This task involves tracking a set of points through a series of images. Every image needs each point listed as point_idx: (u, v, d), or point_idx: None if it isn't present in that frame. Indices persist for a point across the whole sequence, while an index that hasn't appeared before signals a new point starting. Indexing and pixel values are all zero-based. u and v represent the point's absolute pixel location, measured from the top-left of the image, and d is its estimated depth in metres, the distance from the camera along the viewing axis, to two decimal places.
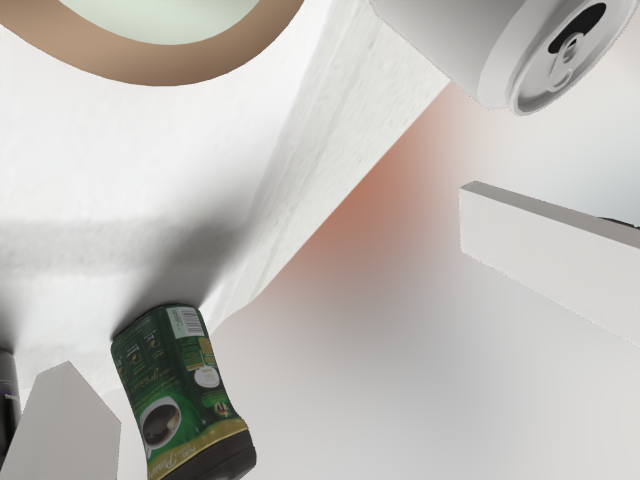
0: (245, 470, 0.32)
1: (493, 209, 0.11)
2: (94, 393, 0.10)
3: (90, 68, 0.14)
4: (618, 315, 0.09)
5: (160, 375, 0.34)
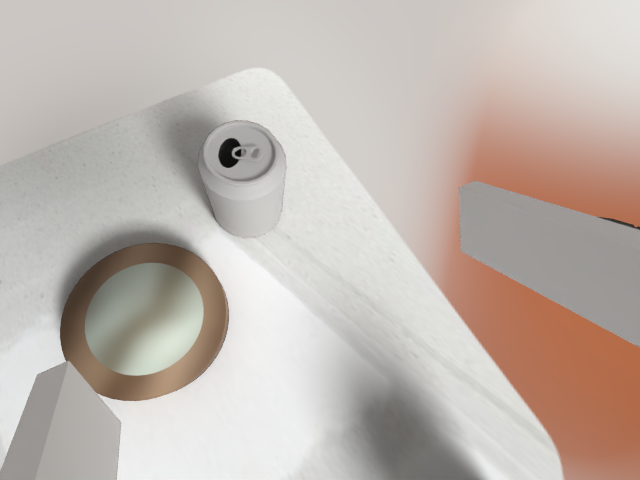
0: None
1: (492, 209, 0.11)
2: (94, 393, 0.10)
3: (181, 383, 0.31)
4: (618, 315, 0.09)
5: None
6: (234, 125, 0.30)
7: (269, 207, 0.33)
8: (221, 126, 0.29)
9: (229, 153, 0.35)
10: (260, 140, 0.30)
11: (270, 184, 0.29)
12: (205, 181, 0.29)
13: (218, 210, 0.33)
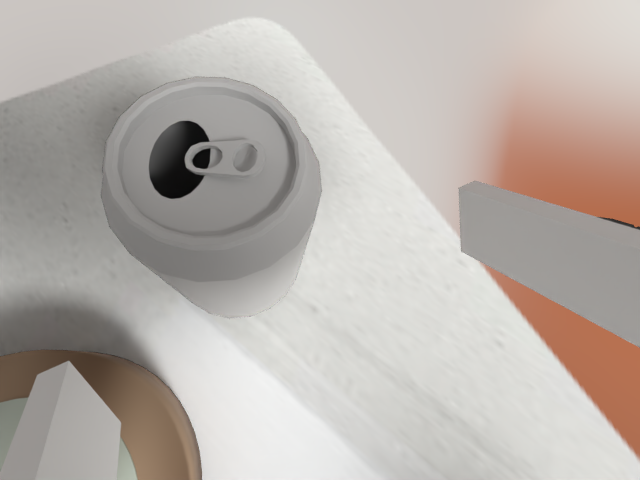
0: None
1: (492, 209, 0.11)
2: (94, 394, 0.10)
3: None
4: (618, 315, 0.09)
5: None
6: (192, 89, 0.12)
7: (281, 277, 0.15)
8: (158, 91, 0.11)
9: (195, 158, 0.17)
10: (258, 126, 0.12)
11: (285, 237, 0.12)
12: (117, 233, 0.11)
13: (169, 284, 0.15)
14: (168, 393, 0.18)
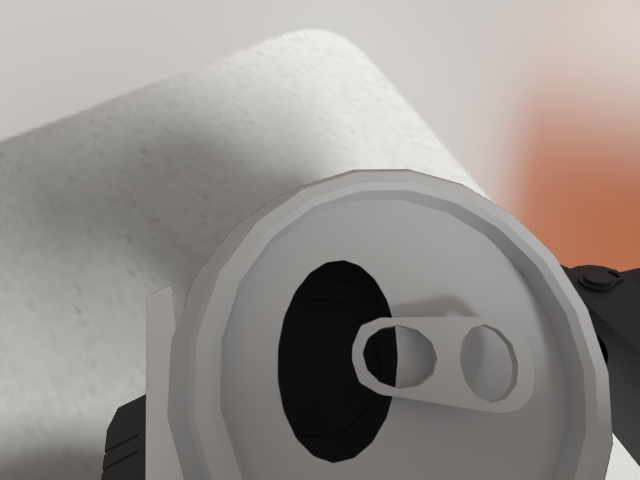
0: None
1: None
2: None
3: None
4: None
5: None
6: (349, 195, 0.06)
7: None
8: (289, 207, 0.06)
9: None
10: (473, 265, 0.06)
11: None
12: None
13: None
14: None
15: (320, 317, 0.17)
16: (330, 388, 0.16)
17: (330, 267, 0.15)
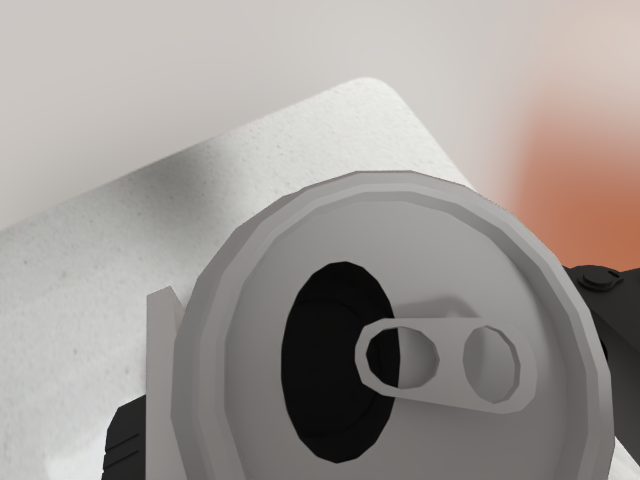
0: None
1: None
2: None
3: None
4: None
5: None
6: (351, 197, 0.06)
7: None
8: (291, 208, 0.06)
9: None
10: (475, 266, 0.06)
11: None
12: None
13: None
14: None
15: (321, 317, 0.17)
16: (331, 388, 0.16)
17: (331, 267, 0.15)
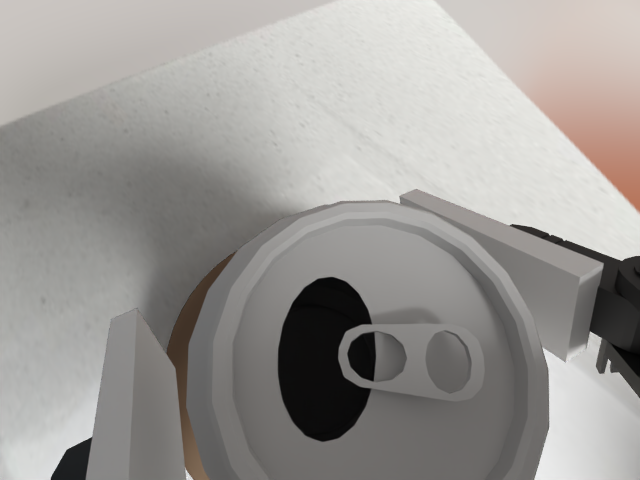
0: None
1: None
2: (155, 340, 0.11)
3: None
4: None
5: None
6: (337, 223, 0.07)
7: None
8: (287, 233, 0.07)
9: None
10: (441, 280, 0.07)
11: None
12: None
13: None
14: None
15: (317, 322, 0.18)
16: (326, 389, 0.17)
17: (326, 276, 0.16)
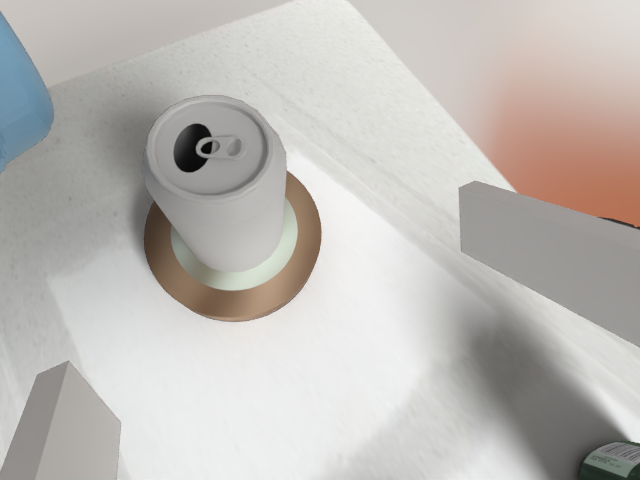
0: None
1: (493, 209, 0.11)
2: (94, 393, 0.10)
3: (279, 300, 0.27)
4: (618, 315, 0.09)
5: None
6: (201, 103, 0.18)
7: (261, 233, 0.21)
8: (179, 104, 0.18)
9: (202, 150, 0.23)
10: (244, 127, 0.18)
11: (260, 199, 0.18)
12: (152, 195, 0.18)
13: (183, 237, 0.21)
14: None
15: None
16: None
17: None
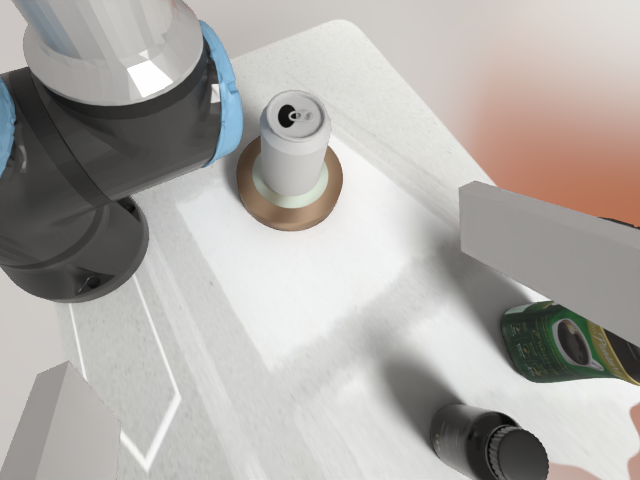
0: None
1: (493, 209, 0.11)
2: (94, 393, 0.10)
3: (318, 214, 0.45)
4: (618, 315, 0.09)
5: (538, 329, 0.39)
6: (289, 94, 0.36)
7: (315, 165, 0.39)
8: (279, 94, 0.36)
9: (279, 121, 0.41)
10: (311, 106, 0.36)
11: (319, 142, 0.36)
12: (266, 139, 0.36)
13: (272, 167, 0.39)
14: None
15: None
16: None
17: None
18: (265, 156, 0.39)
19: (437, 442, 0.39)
